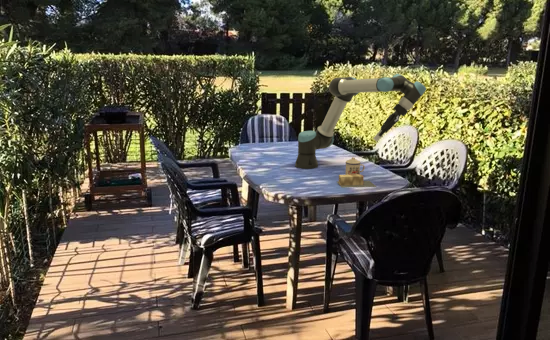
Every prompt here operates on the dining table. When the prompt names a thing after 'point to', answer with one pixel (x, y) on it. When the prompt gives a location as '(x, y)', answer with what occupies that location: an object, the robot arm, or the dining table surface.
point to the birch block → (351, 179)
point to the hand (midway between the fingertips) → (375, 140)
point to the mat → (365, 184)
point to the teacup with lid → (353, 167)
